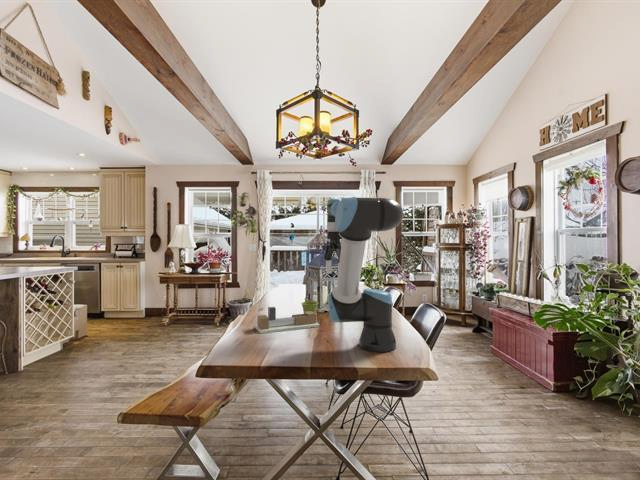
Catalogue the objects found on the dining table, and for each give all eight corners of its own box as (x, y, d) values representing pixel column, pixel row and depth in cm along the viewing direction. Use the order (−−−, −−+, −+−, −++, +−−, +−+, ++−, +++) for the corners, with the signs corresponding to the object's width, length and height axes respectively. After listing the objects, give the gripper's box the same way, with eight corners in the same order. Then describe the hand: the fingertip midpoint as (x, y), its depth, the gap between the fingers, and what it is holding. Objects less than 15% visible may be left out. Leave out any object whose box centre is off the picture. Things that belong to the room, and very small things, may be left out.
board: (319, 326, 171) (319, 314, 171) (260, 333, 159) (260, 319, 159) (310, 321, 182) (310, 309, 182) (254, 327, 170) (254, 314, 170)
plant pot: (298, 317, 190) (298, 302, 190) (314, 316, 194) (314, 300, 194) (305, 321, 182) (305, 305, 182) (321, 319, 186) (321, 303, 186)
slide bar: (296, 323, 171) (296, 306, 171) (263, 327, 164) (263, 308, 164) (294, 322, 174) (294, 304, 173) (262, 326, 167) (262, 307, 167)
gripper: (354, 230, 156) (354, 277, 156) (330, 231, 179) (330, 271, 179) (339, 230, 153) (339, 277, 153) (317, 231, 176) (317, 272, 176)
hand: (334, 274), depth 166 cm, fingers open, 13 cm apart
